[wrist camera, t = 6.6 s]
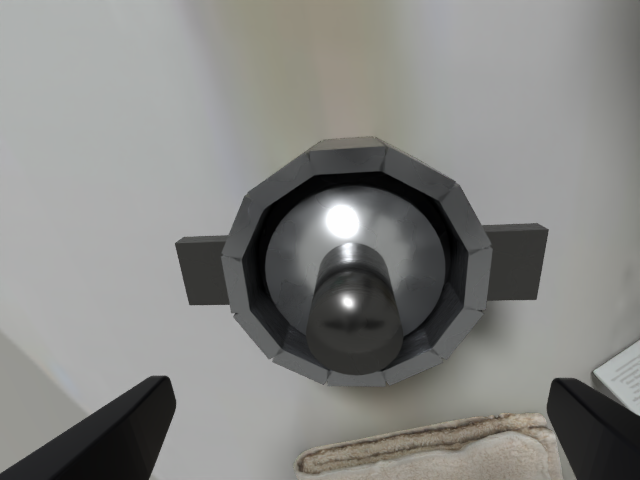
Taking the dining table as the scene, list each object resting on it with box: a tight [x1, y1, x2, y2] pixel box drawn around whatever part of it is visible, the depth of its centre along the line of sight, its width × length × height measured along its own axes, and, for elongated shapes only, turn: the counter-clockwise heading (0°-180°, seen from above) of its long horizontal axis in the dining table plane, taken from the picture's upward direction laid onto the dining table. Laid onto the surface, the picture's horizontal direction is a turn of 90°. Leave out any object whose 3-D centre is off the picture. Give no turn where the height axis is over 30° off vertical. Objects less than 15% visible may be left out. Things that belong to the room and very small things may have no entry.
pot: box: [175, 136, 549, 387], centre depth 16 cm, size 15×10×6 cm
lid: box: [265, 182, 445, 375], centre depth 12 cm, size 7×7×5 cm
